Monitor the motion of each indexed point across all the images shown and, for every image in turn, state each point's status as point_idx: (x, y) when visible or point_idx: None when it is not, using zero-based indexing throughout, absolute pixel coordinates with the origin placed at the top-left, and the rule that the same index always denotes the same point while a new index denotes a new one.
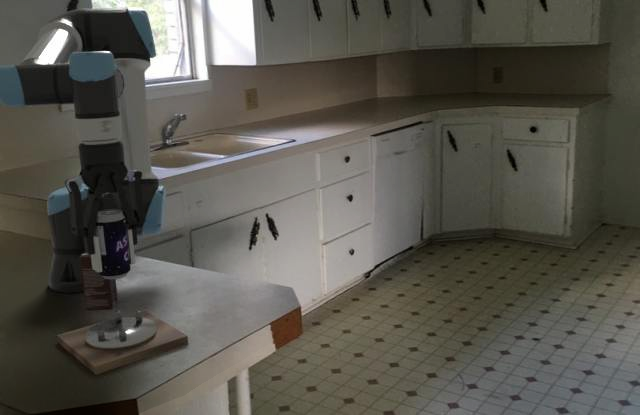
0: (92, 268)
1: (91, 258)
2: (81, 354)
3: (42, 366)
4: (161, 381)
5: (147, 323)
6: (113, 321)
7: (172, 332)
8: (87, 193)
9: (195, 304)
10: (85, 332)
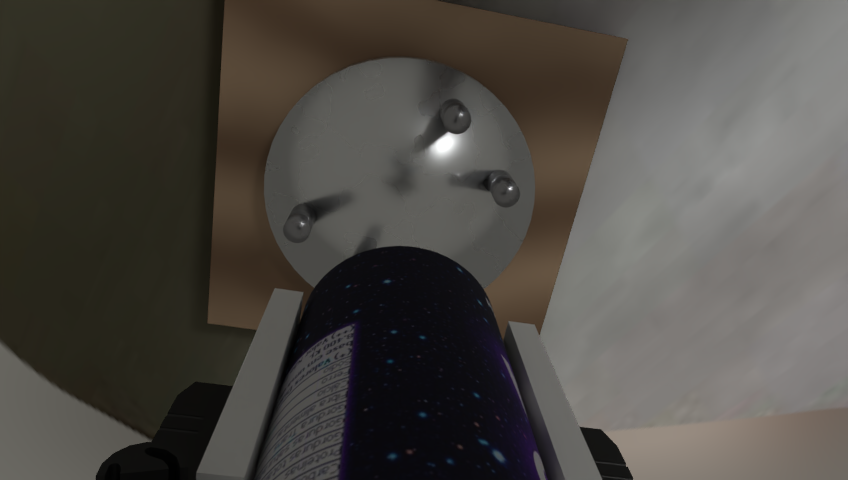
0: (274, 291)
1: (257, 332)
2: (217, 213)
3: (108, 116)
4: None
5: (502, 224)
6: (437, 94)
7: (521, 313)
8: None
9: (809, 115)
10: (325, 44)
